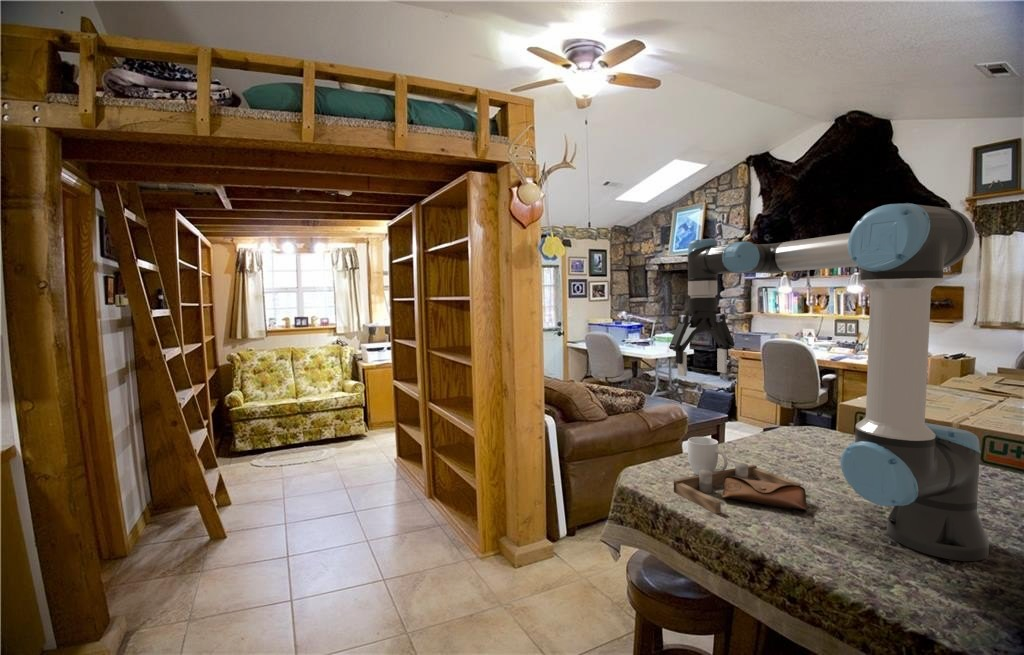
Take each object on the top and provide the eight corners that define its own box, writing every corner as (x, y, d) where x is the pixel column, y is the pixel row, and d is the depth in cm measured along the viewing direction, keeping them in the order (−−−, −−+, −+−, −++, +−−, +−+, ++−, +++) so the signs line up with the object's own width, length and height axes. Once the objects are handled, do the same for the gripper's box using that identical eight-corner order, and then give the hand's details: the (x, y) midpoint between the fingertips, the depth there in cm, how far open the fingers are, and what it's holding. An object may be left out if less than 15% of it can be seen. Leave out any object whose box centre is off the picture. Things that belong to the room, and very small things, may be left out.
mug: (733, 475, 134) (733, 442, 133) (720, 483, 128) (721, 448, 128) (695, 466, 141) (695, 435, 141) (682, 473, 136) (682, 440, 135)
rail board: (800, 494, 120) (800, 474, 120) (715, 513, 111) (715, 492, 110) (753, 475, 133) (753, 457, 133) (673, 491, 124) (673, 472, 123)
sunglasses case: (720, 496, 116) (722, 469, 119) (722, 505, 121) (723, 478, 125) (809, 510, 108) (808, 480, 111) (807, 518, 113) (805, 489, 116)
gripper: (728, 296, 141) (727, 369, 143) (655, 297, 133) (656, 375, 134) (748, 296, 134) (748, 372, 136) (673, 297, 126) (673, 379, 127)
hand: (702, 374), depth 135 cm, fingers open, 13 cm apart
